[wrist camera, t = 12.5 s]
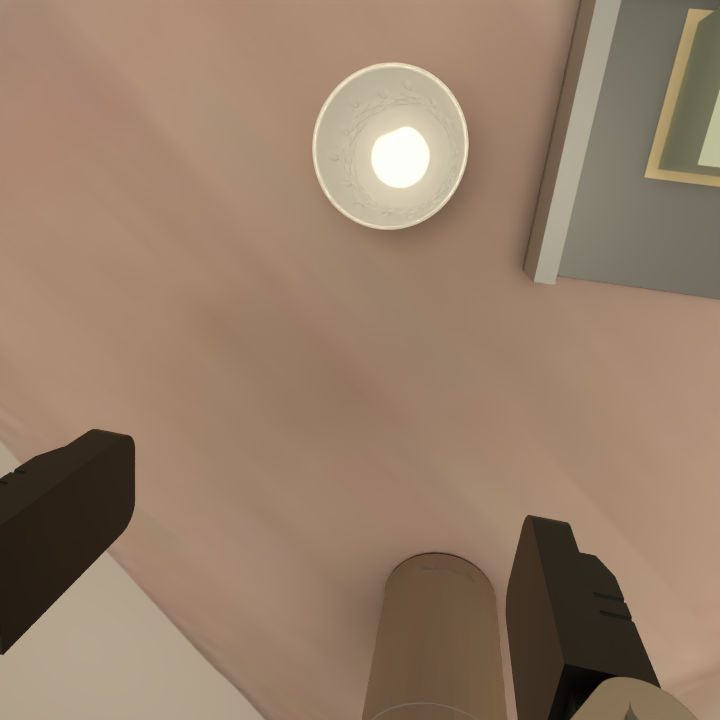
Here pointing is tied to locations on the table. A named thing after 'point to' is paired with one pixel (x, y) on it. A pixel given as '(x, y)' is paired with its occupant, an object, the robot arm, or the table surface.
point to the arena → (625, 158)
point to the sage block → (697, 107)
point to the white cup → (390, 146)
